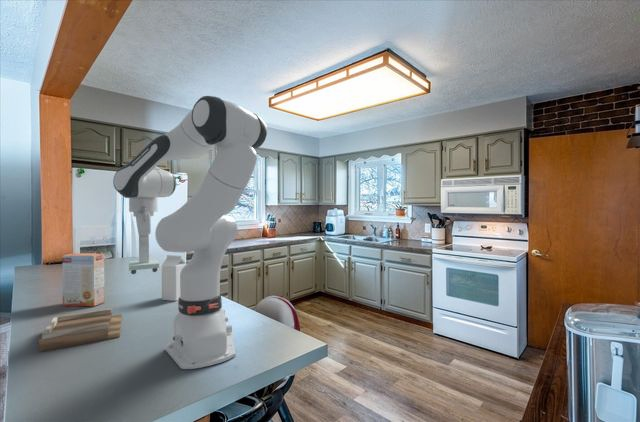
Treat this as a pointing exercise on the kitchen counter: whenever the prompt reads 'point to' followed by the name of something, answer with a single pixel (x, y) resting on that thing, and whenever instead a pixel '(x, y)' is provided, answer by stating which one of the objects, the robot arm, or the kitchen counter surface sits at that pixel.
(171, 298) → the milk carton
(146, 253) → the mint green slab
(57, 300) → the kitchen counter surface
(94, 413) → the kitchen counter surface
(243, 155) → the robot arm
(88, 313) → the tray
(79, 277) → the cracker box
